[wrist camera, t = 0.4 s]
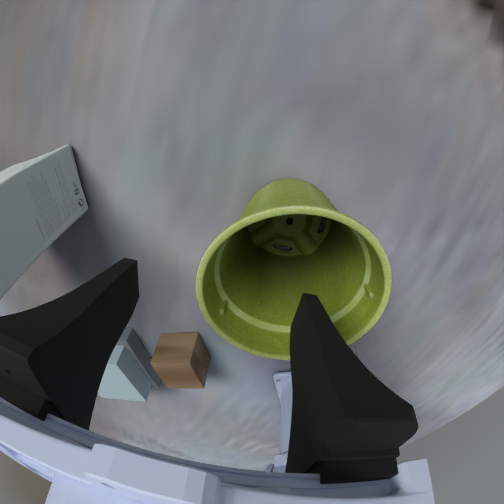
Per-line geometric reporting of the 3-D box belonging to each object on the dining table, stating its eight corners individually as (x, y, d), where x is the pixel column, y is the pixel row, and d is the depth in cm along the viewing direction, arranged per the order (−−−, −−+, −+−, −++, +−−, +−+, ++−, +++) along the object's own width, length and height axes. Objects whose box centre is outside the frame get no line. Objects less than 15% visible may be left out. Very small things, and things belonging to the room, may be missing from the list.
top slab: (151, 383, 31) (146, 401, 29) (108, 381, 32) (101, 397, 30) (124, 345, 28) (116, 364, 25) (79, 345, 29) (70, 362, 27)
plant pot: (335, 280, 24) (355, 366, 17) (218, 265, 24) (195, 350, 17) (368, 168, 19) (420, 227, 12) (228, 146, 19) (197, 192, 12)
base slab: (163, 371, 33) (158, 387, 31) (111, 369, 35) (104, 383, 32) (134, 323, 29) (126, 341, 27) (80, 325, 31) (71, 340, 28)
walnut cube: (210, 357, 30) (204, 388, 27) (176, 358, 31) (166, 387, 27) (198, 330, 28) (189, 363, 25) (161, 332, 29) (150, 363, 25)
